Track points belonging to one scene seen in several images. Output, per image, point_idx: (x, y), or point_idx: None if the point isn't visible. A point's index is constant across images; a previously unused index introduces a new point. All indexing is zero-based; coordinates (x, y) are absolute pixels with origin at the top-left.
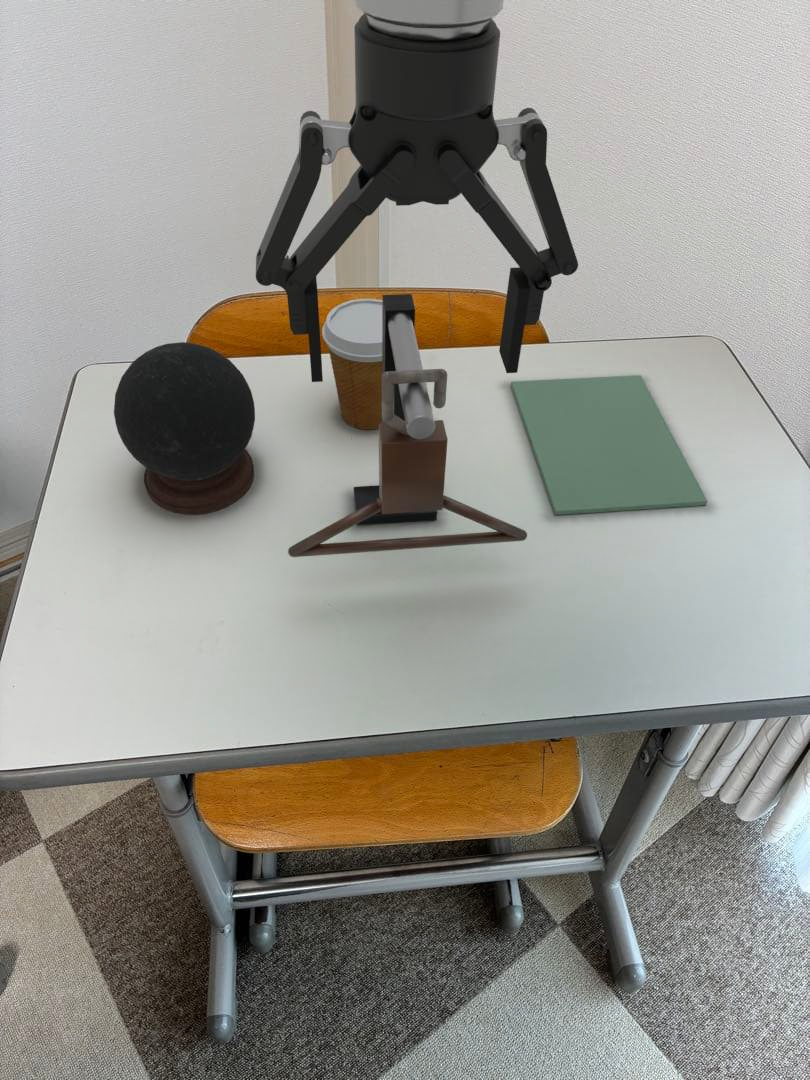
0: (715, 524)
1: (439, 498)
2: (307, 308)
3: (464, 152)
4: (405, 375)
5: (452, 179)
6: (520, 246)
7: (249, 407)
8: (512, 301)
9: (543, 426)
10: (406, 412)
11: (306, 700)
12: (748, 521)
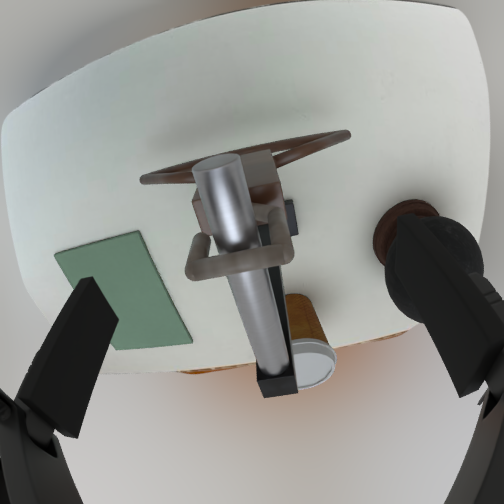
0: (47, 238)
1: None
2: (493, 312)
3: None
4: (253, 257)
5: None
6: (12, 475)
7: (395, 278)
8: (63, 382)
9: (162, 308)
10: (243, 187)
11: (308, 30)
12: (34, 244)
